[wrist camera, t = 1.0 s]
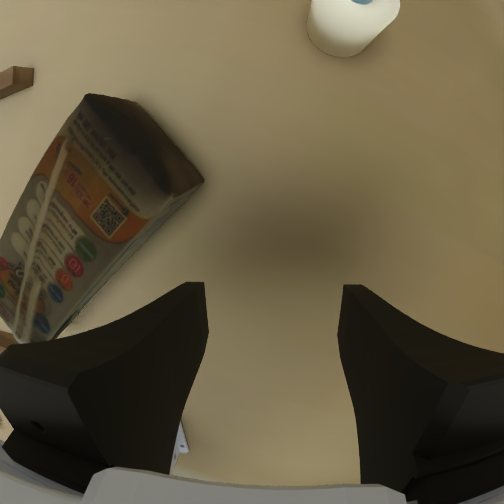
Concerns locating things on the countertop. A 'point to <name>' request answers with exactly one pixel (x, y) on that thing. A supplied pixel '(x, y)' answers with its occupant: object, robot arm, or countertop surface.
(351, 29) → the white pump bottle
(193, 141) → the countertop surface
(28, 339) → the beverage carton
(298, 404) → the countertop surface
